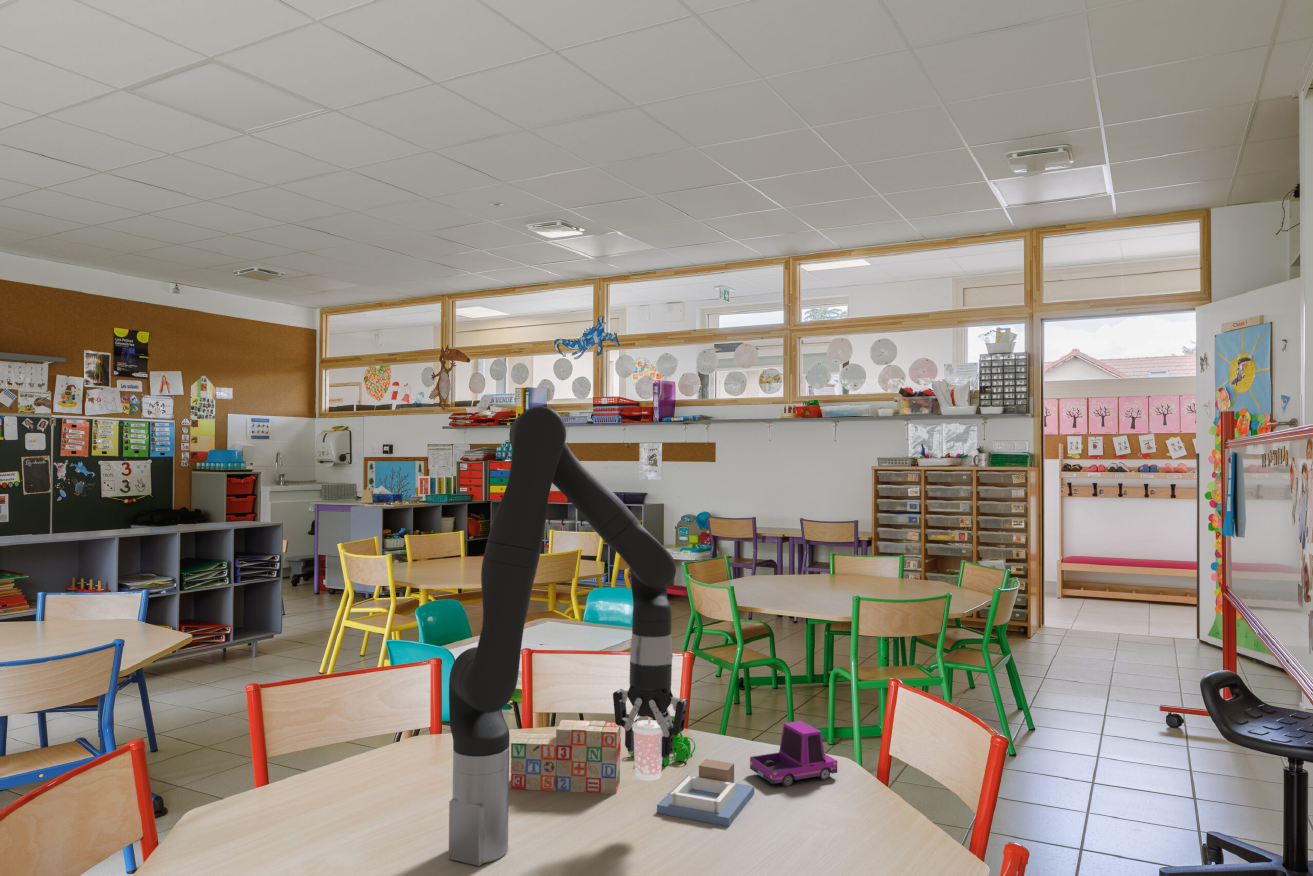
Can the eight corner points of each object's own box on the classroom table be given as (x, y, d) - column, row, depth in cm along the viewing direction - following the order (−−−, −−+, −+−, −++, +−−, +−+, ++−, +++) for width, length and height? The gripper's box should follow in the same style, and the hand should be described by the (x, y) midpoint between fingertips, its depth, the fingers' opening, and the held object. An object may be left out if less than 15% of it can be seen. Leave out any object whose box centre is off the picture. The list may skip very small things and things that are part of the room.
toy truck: (840, 780, 172) (840, 731, 172) (774, 792, 166) (774, 741, 166) (810, 763, 182) (810, 716, 182) (747, 773, 176) (747, 725, 176)
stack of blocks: (509, 790, 166) (510, 727, 166) (517, 778, 172) (518, 717, 172) (616, 794, 164) (617, 731, 164) (620, 782, 170) (621, 721, 171)
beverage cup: (649, 785, 145) (651, 703, 145) (623, 776, 149) (625, 696, 149) (672, 776, 149) (674, 696, 150) (646, 767, 154) (648, 690, 154)
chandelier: (613, 758, 184) (614, 726, 184) (656, 741, 196) (656, 711, 196) (667, 775, 175) (667, 741, 175) (708, 755, 187) (709, 724, 187)
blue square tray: (728, 826, 150) (729, 795, 150) (656, 813, 155) (657, 783, 155) (754, 794, 164) (754, 765, 165) (687, 782, 170) (687, 755, 170)
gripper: (605, 658, 149) (603, 753, 149) (680, 668, 144) (678, 767, 143) (623, 650, 156) (621, 741, 156) (695, 659, 151) (693, 753, 150)
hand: (648, 753), depth 149 cm, fingers closed on beverage cup, 6 cm apart
